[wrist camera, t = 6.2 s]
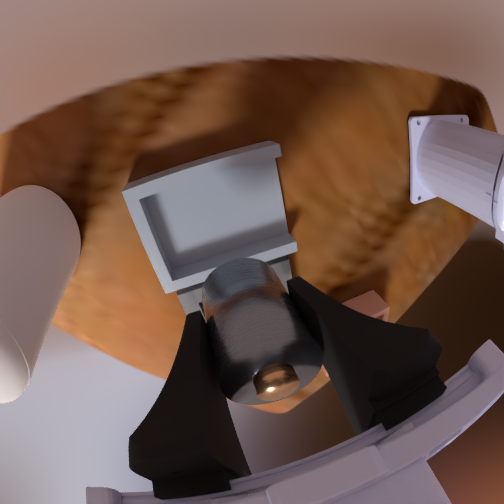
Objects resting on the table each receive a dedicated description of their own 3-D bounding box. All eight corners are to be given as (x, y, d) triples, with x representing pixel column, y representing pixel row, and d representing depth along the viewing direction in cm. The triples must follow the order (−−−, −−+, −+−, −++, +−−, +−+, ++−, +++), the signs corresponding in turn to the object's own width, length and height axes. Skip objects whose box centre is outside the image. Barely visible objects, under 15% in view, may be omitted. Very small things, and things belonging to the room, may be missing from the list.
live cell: (271, 246, 14) (330, 335, 8) (283, 307, 16) (329, 393, 11) (190, 272, 13) (207, 378, 8) (214, 329, 15) (239, 425, 10)
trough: (269, 140, 18) (279, 143, 16) (287, 239, 21) (297, 251, 20) (127, 183, 16) (121, 191, 15) (165, 278, 20) (165, 293, 19)
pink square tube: (373, 289, 27) (389, 306, 24) (368, 333, 30) (381, 350, 28) (311, 314, 26) (325, 336, 24) (315, 357, 30) (326, 376, 27)
